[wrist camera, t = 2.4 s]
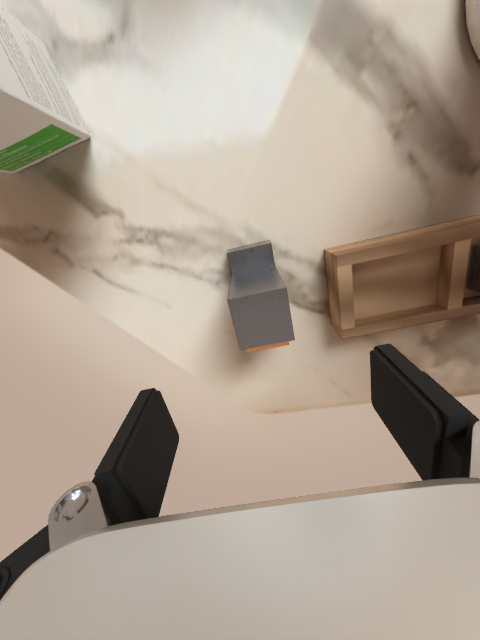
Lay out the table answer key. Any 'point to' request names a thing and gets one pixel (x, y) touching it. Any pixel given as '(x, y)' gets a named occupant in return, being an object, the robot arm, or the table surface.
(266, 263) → the finger
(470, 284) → the twin finger
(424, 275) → the wooden divided tray
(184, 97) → the table surface
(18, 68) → the skincare box
